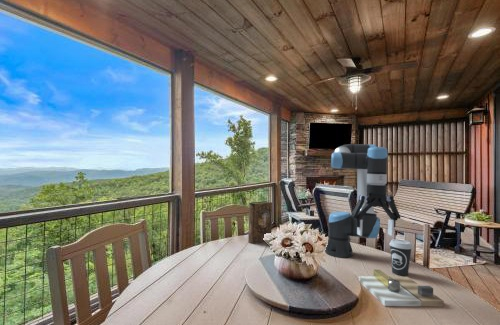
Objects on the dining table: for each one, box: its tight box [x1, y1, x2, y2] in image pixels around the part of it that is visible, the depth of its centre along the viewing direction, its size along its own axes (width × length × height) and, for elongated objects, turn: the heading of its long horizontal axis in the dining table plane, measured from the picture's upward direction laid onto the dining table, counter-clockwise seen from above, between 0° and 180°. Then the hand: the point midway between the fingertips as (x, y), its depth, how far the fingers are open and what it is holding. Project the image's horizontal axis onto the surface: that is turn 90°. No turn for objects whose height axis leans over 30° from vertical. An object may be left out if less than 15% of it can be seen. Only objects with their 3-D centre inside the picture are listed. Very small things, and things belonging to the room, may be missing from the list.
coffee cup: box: [388, 238, 413, 277], centre depth 122 cm, size 10×10×15 cm
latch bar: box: [373, 269, 400, 292], centre depth 106 cm, size 14×4×3 cm, turn 2°
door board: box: [358, 275, 445, 307], centre depth 103 cm, size 20×22×5 cm
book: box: [247, 200, 273, 245], centre depth 167 cm, size 16×6×25 cm, turn 130°
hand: (375, 235), depth 108 cm, fingers open, 13 cm apart
